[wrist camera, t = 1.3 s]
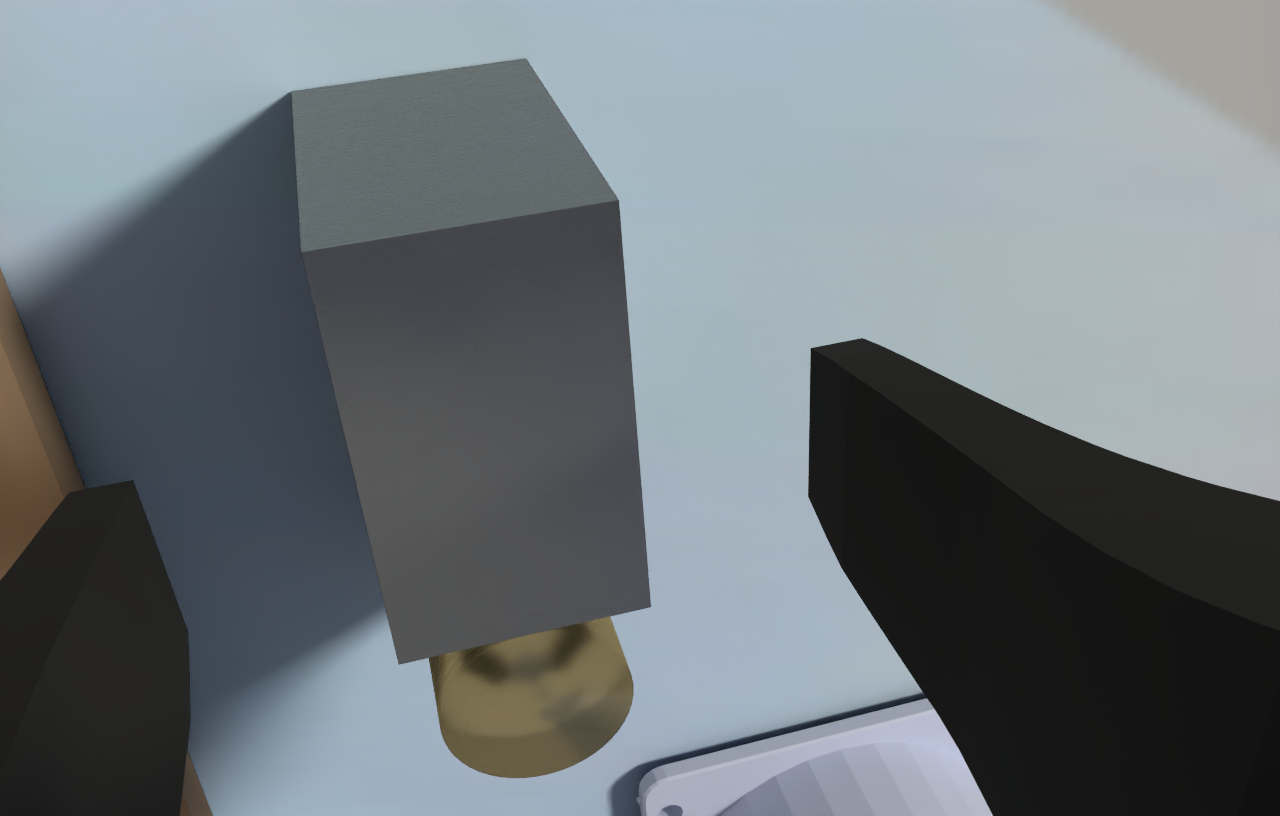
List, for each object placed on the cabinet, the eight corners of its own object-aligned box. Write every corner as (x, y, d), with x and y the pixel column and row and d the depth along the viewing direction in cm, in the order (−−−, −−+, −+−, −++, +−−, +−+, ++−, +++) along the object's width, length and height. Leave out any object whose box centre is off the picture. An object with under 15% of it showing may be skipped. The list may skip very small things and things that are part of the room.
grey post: (579, 519, 20) (661, 745, 16) (396, 559, 19) (431, 803, 15) (526, 58, 16) (619, 200, 12) (291, 91, 15) (301, 252, 11)
